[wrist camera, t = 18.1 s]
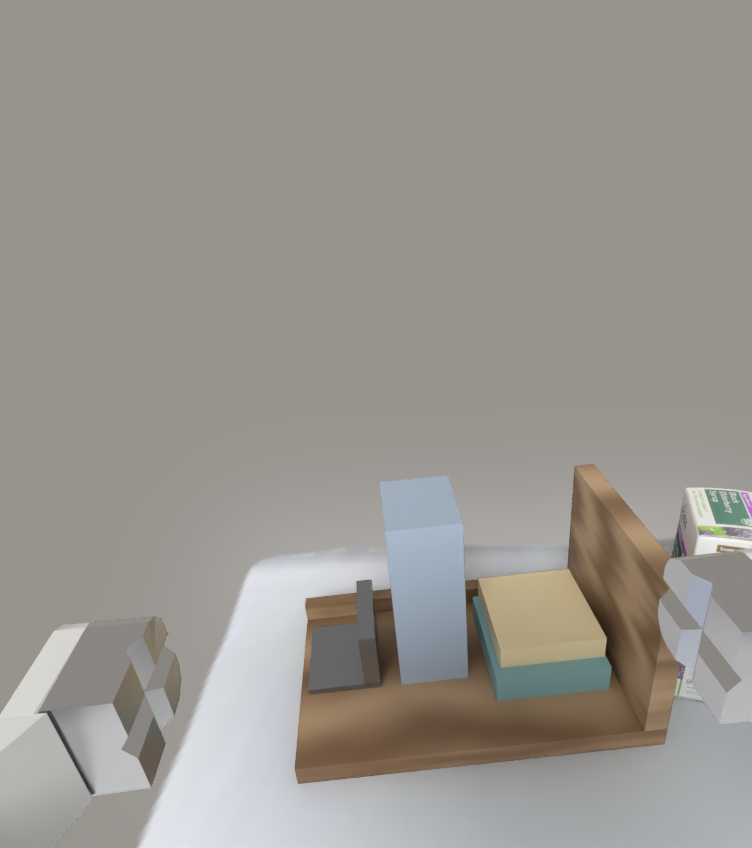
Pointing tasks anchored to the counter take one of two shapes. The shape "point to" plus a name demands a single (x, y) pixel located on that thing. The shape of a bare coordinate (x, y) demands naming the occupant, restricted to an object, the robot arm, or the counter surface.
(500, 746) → the shelf
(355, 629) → the bookend
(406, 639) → the light blue upright block
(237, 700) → the counter surface
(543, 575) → the book stack
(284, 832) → the counter surface
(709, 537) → the syrup box
